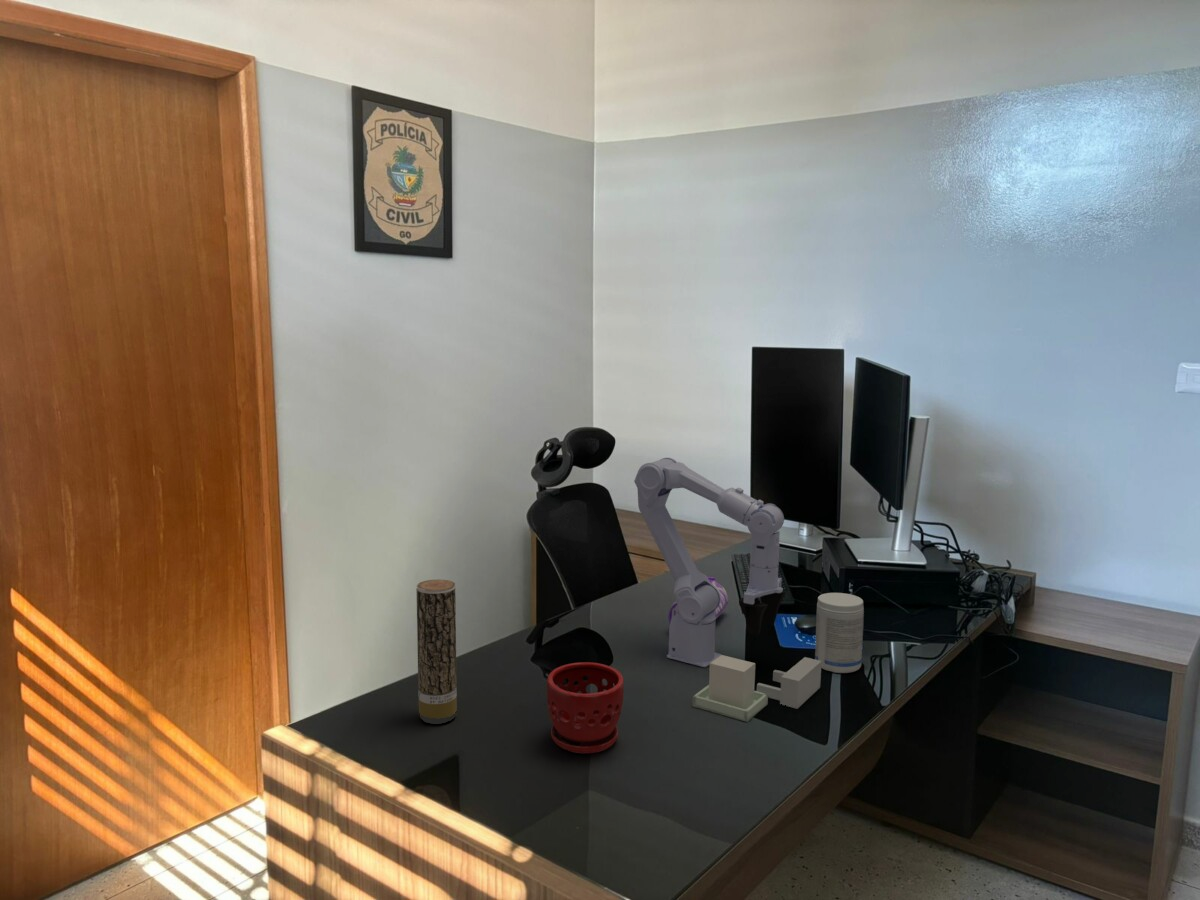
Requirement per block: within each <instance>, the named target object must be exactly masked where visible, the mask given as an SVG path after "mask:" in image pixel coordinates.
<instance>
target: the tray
mask: <svg viewBox="0 0 1200 900" xmlns="http://www.w3.org/2000/svg"><path fill="white" fill-rule="evenodd" d="M768 700H769V698H768V694H765V693H761V692H758V691H757V690H754V703H753V704H752V705H751V706H750V707H749V708H747V709H746V710H745V709H742V708H738V707H735V706H731V705H728V704H724V703H720V702H717V701H713V700H710V699H709V684H707V686H705V687H704V688H702V689H701V690H700V691H698V692H697V693H696V694H694V695H692V707H694V708H697V709H700V710H704V711H707V712H710V713H715V714H718V715H721V716H725V717H728V718H732V719H735V720H739V721H743V722H746V723H748V722H749V721H750V720H752V719H753V718H754V717H755V716H756V715H757V714H759V712H761V711H762V710H763V709H765V707H766V706H768V703H769V701H768Z"/></svg>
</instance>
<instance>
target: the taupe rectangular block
mask: <svg viewBox="0 0 1200 900" xmlns="http://www.w3.org/2000/svg"><path fill="white" fill-rule="evenodd" d="M708 672H709V677H708V678H709V679H708V685H709V699H710V700H713V701H717V702H720V703H724V704H728V705H731V706H735V707H738V708H742V709H745V710H746V709H747V708H749V707H750V706H751V705H752V704H753V703H754V691H755V682H756V681H755V680H756V663H755V662H751V661H747V660H743V659H740V658H735V657H732V656H727V655H724V654H723V655H721V656H719V657H718V658H717V659H715V660H714V661H712V662H711V663H710V665H709V670H708Z"/></svg>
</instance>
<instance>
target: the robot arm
mask: <svg viewBox="0 0 1200 900" xmlns="http://www.w3.org/2000/svg"><path fill="white" fill-rule="evenodd" d="M633 482H634V484H635V486H636V489H637V502H638V503H637V504H638V510H639V512H640V514H641V515H642V518H643V520H644V522H645V524H646V526H647V528H648V530H649V532H650V534H651V536H652V538H653V539H654V540H653V541H655V544H656V546H657V548H658V550H659V552H660V554H661V556H662V558H663V560H664V562H665V564H666V566H667V568H668V570H669V572H670V574H671V577H672V578H673V581H674V589H673V596H674V598H675V601H676V600H677V609H678V612H679V614H676V615H675V616H674V617H673V618H672V620H671V623H670V625H669V628H668V654H666V658H667V659H671V660H675V661H679V662H683V663H686V664H690V665H694V666H697V667H701V668H706V667H708V666H710V663H711V662H712V661H714V660H715V659H717V658H718V657H719V656H721V655H722V653H719V652H715V650H716V649H715V647H716V646H715V645H716V644H715V643H716V616H715V609H717V608H718V606H719V605H720V601H721V597H720V593H719V591H718V590H717V588H716V587H715V586H713V585H712V584H711V583H710V582H709V580H708V578H707V577H708V576H707V575H705V574H704V573H703V572H701V571H700V570H698V568H697V566H696V564H695V562H694V560H693V558H692V556H691V554H690V552H689V550H688V548H687V546H686V544H685V543H684V542H685V541H684V540H683V539H682V537H681V536H682V535H680V532H679V530H678V528H677V527H676V526H677V525H676V524H675V522H674V520H673V518H672V515H670V513H669V511H668V508H667V506H666V503H667V501H668V499H669V496H670V493H671V491H672V490H675V489H686V490H687V491H689V492H691V493H694V494H695V495H698V496H700V497H702V498H704V499H706V500H708V501H711V502H713V503H715V504H716V506H717V509H718V511H719V513H721V514H723V515H725V516H727V517H729V518H730V519H732V520H733V521H736V522H738V523H739V524H742V525H743V526H745V527H747V530H748V531H749V533H750V534H751V535H750V536H751V537H750V558H749V579H748V582H749V583H748V584H747V588H746V590H745V592H744V593H743V597H741V598H739V599H738V605H739V607H740V609H741V610H742V614H743V615H744V619H745V622H746V630H747V632H748V634H749V635H755V636H759V635H760V633H761V629H762V622H763V623H764V624H767V625H772V626H774V625H775V623H776V619H777V615H778V612H779V609H780V605H781V604H782V601H783V599H784V597H785V596H786V594H787V591H786V590H785V589H784V588H783V587H782V577H779V561H780V535H781V533H780V530H781V528H782V527H783V525H784V523H785V517H784V513H783V511H782V510H781V508H779V507H778V506H777V505H776V504H774V503H766V504H764V501H763V500H761V499H758V500H757V499H756V498H753V497H752V496H750V495H747V494H745V493H744V489H743V488H741V487H736V488H734V487H730V488H726V489H724V488H723V487H721V486H720V485H718V484H716V483H714V482H713V481H711V480H709V479H707V477H704V476H702V475H701V474H699V473H698V472H696V471H694V470H693V469H692V468H689V467H688V466H687V465H686V464H685V463H684V462H681V461H677V460H675V459H674V458H671V457H662V458H661V459H659V460H654V461H652V462H647V463H644V464H642V465H641V466H640V467H639V469H638V470H637V473H636V475H635V478H634V480H633Z"/></svg>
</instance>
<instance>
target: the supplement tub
mask: <svg viewBox="0 0 1200 900" xmlns="http://www.w3.org/2000/svg"><path fill="white" fill-rule="evenodd" d="M864 607H865V606H864V600H863V599H862V598H861V597H859V596H857V595H855V594H849V593H845V592H844V593H843V592H827V593H822V594H820V595H819V596H818V597H817V603H816V616H815V618H816V619H815V621H816V622H815V624H816V625H815V647H814V648H815V651H814V659H815V660H819V661H822V662H821V670H822V669H823V670H825V671H828V672H831V673H835V674H837V673H838V674H849V673H854V672H856V671H858V670H860V668H861V667H862V660H863V636H864V619H865V618H864V617H865V614H864V613H865V611H864V610H865V609H864Z"/></svg>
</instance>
